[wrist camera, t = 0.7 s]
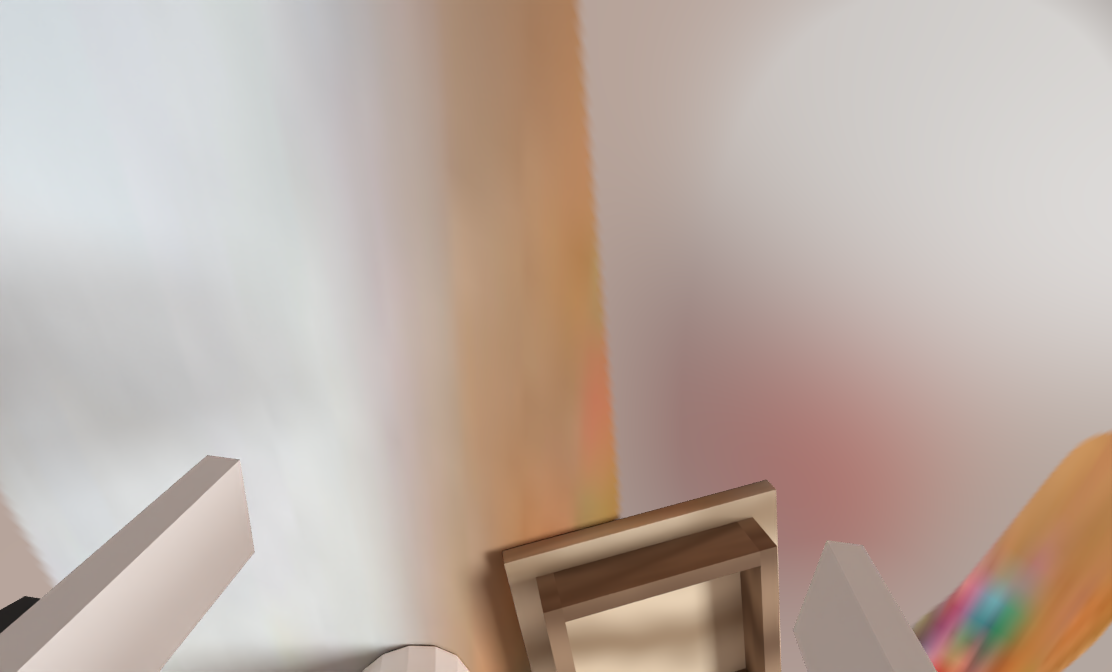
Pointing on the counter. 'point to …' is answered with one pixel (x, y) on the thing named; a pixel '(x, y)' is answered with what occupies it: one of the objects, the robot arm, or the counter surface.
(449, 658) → the white cup
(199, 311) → the counter surface
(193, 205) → the counter surface
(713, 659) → the cup holder
